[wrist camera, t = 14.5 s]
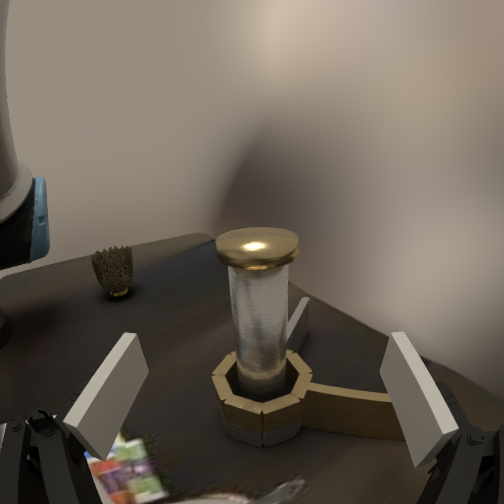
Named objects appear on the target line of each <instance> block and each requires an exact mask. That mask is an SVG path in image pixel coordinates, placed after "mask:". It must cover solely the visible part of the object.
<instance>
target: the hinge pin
mask: <svg viewBox="0 0 504 504" xmlns="http://www.w3.org/2000/svg"><path fill="white" fill-rule="evenodd" d="M216 248H217V258H218V260H219V261H220V262H221V263H223V264H225V265H227V266H228V270H229V283H230V295H231V306H232V318H233V329H234V339H235V349H236V359H237V369H238V379H239V388H240V397H243V398H246V399H249V400H253V401H256V402H259V403H264V402H268V401H271V400H274V399H277V398H279V397H282V396H284V390H285V370H286V346H287V313H288V264H289V263H291V262H293V261H294V260H295V259H296V258H297V257H298V253H299V237H298V235H297V234H295V233H294V232H292V231H289V230H285V229H280V228H269V227H254V228H243V229H237V230H233V231H229V232H226V233H224V234H221V235H220V236H218V237H217V239H216Z"/></svg>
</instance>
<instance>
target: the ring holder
mask: <svg viewBox="0 0 504 504" xmlns="http://www.w3.org/2000/svg"><path fill="white" fill-rule="evenodd" d="M309 299H310V298H308V297H303V298H302V299H301V301H300V303H299V305H298V307H297V308H296V310H295V312H294V314H293V315H292V317H291V319H290V321H289V322H288V324H287V346H286V370H285V390H284V395H285V396H282V397H279V398H277V399H274V400H271V401H268V402H264V403H259V402H256V401H253V400H249V399H246V398H243V397H240V388H239V379H238V369H237V359H236V351H235V352H231V355H229V354H228V355H227V356H226V357H225V358H224V360H223V361H222V362H221V363H220V364H219V366H218V367H217V368H216V369H215V371H214V372H213V373H212V376H211V377H212V382H213V387H214V392H215V397H216V402H217V407H218V411H219V415H220V417H221V420H222V422H223V424H224V427H225V429H226V432H227V434H228V435H230V437H231V438H233V439H236V440H239V441H242V442H245V443H248V444H251V445H254V446H257V447H260V448H261V447H262V445H263V444H264V446H265V447H268V446H271V445H274V444H277V443H280V442H282V441H285V440H288V439H290V438H293V437H295V436H296V434H298V433H299V431H300V429H301V426H305V427H309V428H314V429H319V430H324V431H330V432H336V433H342V434H348V435H356V436H363V437H372V438H382V439H395V440H405V437H404V434H403V431H402V428H401V425H400V423H399V420H398V417H397V415H396V412H395V409H394V407H393V404H392V402H391V399H390V396H389V394H383V393H374V392H366V391H358V390H351V389H345V388H338V387H332V386H326V385H321V384H316V383H312V377H313V374H312V370H311V369H310V368H309V367H308V366H307V365H306V363H305V362H304V361H303V360H302V359H301V358H300V356H299V355H298V352H299V350H300V347H301V345H302V343H303V341H304V339H305V336H306V334H307V329H308V315H309Z"/></svg>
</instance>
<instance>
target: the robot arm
mask: <svg viewBox="0 0 504 504" xmlns="http://www.w3.org/2000/svg"><path fill="white" fill-rule="evenodd" d="M9 1H10V0H0V270H3V269H7V268H11V267H15V266H18V265H22V264H26V263H31V262H32V261H34V260H37V259H40V258H43V257H45V256H46V255H47V254H48V252H49V248H50V238H49V223H48V209H47V193H46V182H45V180H44V178H42V177H35V178H34V179H33V178H32V174H31V170H30V168H29V167H28V166H27V165H26V164H25V163H24V162H22V161H19V160H17V157H16V152H15V147H14V142H13V137H12V131H11V126H10V119H9V111H8V103H7V92H6V77H5V40H6V26H7V16H8V8H9ZM10 332H11V324H10V322H9V319H8V317H7V315H6V313H5V311H4V310H3V309H2V308H1V307H0V347H1V346H2V345H3V344H4V343H5V341H6V340H7V338H8V337H9V335H10ZM148 372H149V370H148V367H147V364H146V361H145V358H144V355H143V352H142V349H141V346H140V343H139V340H138V337H137V334H133V333H124V334H123V336H122V337H121V338H120V340H119V341H118V342H117V344H116V345H115V346H114V348H113V349H112V350H111V352H110V353H109V355H108V356H107V357H106V359H105V360H104V362H103V363H102V364H101V366H100V367H99V369H98V370H97V371H96V373H95V374H94V376H93V377H92V379H91V380H90V381H88V380H84V381H83V382H81V383H80V384H79V385H77V387H76V388H75V389H74V391H73V392H72V394H71V395H70V397H69V399H68V400H67V401H66V402H65V404H64V405H63V407H62V408H61V410H60V411H59V413H58V414H57V416H56V417H55V419H54V418H53V416H52V415H51V414H50V412H49V411H48V410H47V409H44V408H37V409H35V410H33V411H32V412H31V413H30V414H29V415H28V418H27V422H28V423H29V424H27V423H26V421H25V420H24V419H23V418H22V417H19V416H16V417H13V418H11V419H10V420H9V421H8V422H7V425H6V428H5V433H4V438H3V442H2V448H1V453H0V504H103V503H102V501H101V499H100V496H99V494H98V491H97V489H96V486H95V483H94V481H93V478H92V475H91V472H90V469H89V466H88V463H87V459H86V457H85V455H84V453H85V451H87V452H88V453H89V454H90V455H91V456H92V457H95V458H97V459H100V460H102V461H105V460H106V458H107V456H108V454H109V451H110V449H111V447H112V445H113V443H114V441H115V439H116V437H117V435H118V433H119V430H120V428H121V426H122V424H123V422H124V420H125V418H126V416H127V414H128V412H129V410H130V408H131V406H132V404H133V402H134V400H135V398H136V396H137V394H138V392H139V390H140V388H141V386H142V384H143V382H144V380H145V378H146V376H147V374H148ZM380 374H381V377H382V379H383V381H384V384H385V386H386V389H387V391H388V394H389V396H390V399H391V402H392V404H393V407H394V409H395V412H396V415H397V417H398V420H399V423H400V425H401V428H402V431H403V434H404V437H405V440H406V442H407V445H408V448H409V451H410V454H411V457H412V460H413V464H414V467H415V468H417V467H420V466H423V465H426V464H429V463H430V462H431V461H432V460H433V459H434V458H435V457H436V459H437V463H436V464H435V465H434V466H433V467H432V468H431V469H430V471H429V472H428V474H430V473H431V472H432V473H431V476H430V478H429V480H428V482H427V484H426V486H425V488H424V490H423V492H422V494H421V496H420V498H419V500H418V502H417V503H416V504H504V424H503V425H502V426H501V427H500V429H499V430H498V431H491V432H483V431H482V429H480V428H478V427H472V426H471V424H470V423H469V421H468V419H467V417H466V415H465V413H464V411H463V410H462V408H461V406H460V404H459V403H458V401H457V399H456V397H454V394H453V392H452V390H451V389H450V387H449V386H448V385H446V384H445V383H444V382H443V381H439V382H436V383H434V381H433V379H432V377H431V376H430V374H429V372H428V370H427V369H426V367H425V365H424V364H423V362H422V360H421V359H420V357H419V355H418V354H417V352H416V350H415V349H414V347H413V346H412V344H411V342H410V341H409V339H408V338H407V336H406V335H405V333H404V332H403V331H402V332H394V333H391V334H390V338H389V341H388V345H387V349H386V352H385V355H384V359H383V362H382V365H381V369H380ZM28 455H29V459H28ZM27 459H28V460H27Z"/></svg>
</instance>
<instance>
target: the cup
mask: <svg viewBox="0 0 504 504" xmlns="http://www.w3.org/2000/svg"><path fill="white" fill-rule="evenodd" d="M91 257H92V260H91V259H90V260H91V263H92V266H93V269H94V271H95V274H96V277H97V279H98V281H99V283H100V285H101V286H102V287H103V288H104V289H105V290H107V291H109V294H110V296H111V297H112V298H113V299H122V298H124V297H126V296H127V295H128V294H129V288H128V286H129V285H130V284H131V282H132V280H133V261H132V251H131V248H130V249H129V246H127V247H125V249H124V248H123V246H121V249H120V250H119V249H118V248H117V247H116V246H115V247H114V250H113V248H111V247H110V248H109V250H108V253H107V252H106V249H104V250H103V254H102V253H101V252H99V251H96V253H95V255H93V254H92V255H91Z"/></svg>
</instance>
